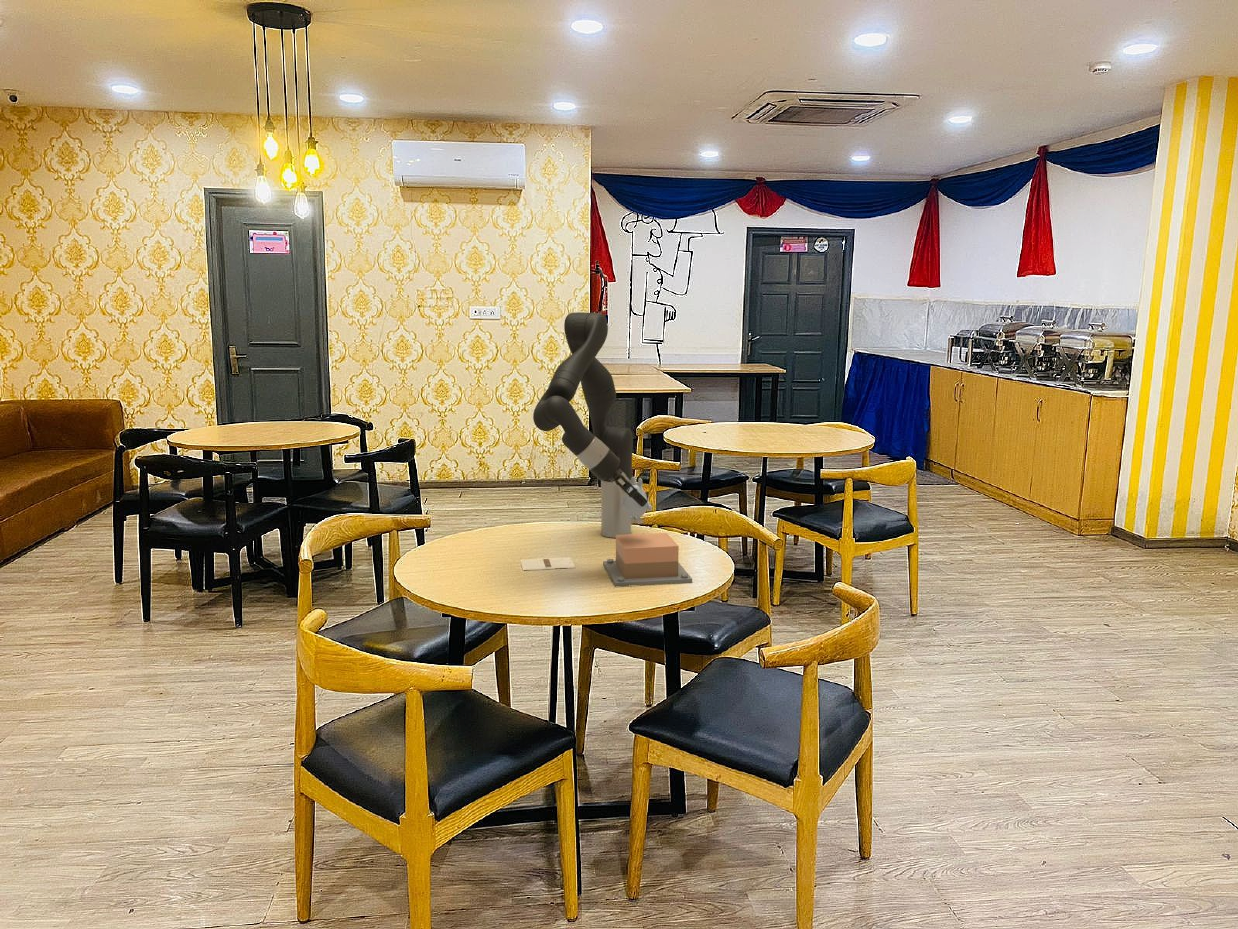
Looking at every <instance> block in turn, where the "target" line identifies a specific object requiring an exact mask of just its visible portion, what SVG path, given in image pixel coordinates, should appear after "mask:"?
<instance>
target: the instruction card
mask: <svg viewBox="0 0 1238 929" xmlns="http://www.w3.org/2000/svg"><path fill="white" fill-rule="evenodd" d="M520 564H521V568H522V571H523V572H525V571H524V570H531V571H543V570H542V569H551V570H556V569H555V568H571V569H576V566H575V564H574V561H573V559H572V557H571V556H567V557H566V556H565V557H564V556H563V557H551V558H549V557H547V558H528V559H526V558H525V559H520Z"/></svg>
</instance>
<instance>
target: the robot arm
mask: <svg viewBox="0 0 1238 929" xmlns="http://www.w3.org/2000/svg"><path fill="white" fill-rule="evenodd" d="M563 324H564V325H563V327H564V328H563V329H564V336H565V339H566V344H567V346H568V348H569V350H570V353H571V355H570V356H568V357H567V358H566V359H564V360H563V361H562V362H561V363H560V364H559V365H558V367H557V368H556V369H555V372H554V373H553V376H552V378H551V380H550V382H549V385H548V387H547V389H546V390H545V392H544V393H543V395H542V396H541V398H540V399H539V400H538V403H536V406H535V408H534V410H533V413H532V420H533V422H534V425H535V426H536V429H537V428H538V429H539V430H541V431H543V432H551V431H552V430H555V429H556V428H558V427H559V426H560V427H561V428H562V430H563V431H564V433H563V435H562V437H561V442H562V444H563V445H564V446H565V447H566V448H567V449H568V450H569V451H570V452H571V453H572V454H573V455H575V456H576V457H575V458H577V460H579V462H580V463H582V465H583V466H584V467H585V468H586V469H588V471H590V472H591V474H593V475H594V476H595V477H596V479H598V480H599V481H600V490H601V491H600V496H601V497H600V498H601V499H600V500H601V501H600V508H601V509H600V511H601V514H600V518H601V521H600V522H601V523H600V525H601V528H600V529H601V530H600V532H601V535H602V536H603V537H606V538H615V539H616V535H627V534H632V522H631V521H630V518H631V517H632V516H630V515H629V514H628V513H627V512H626V510H625V506H624V505H621V500H622V499H623V498H624V497H626V496H627V494H628V495H629V497H631V498H633V499H634V500H635V501H636V502H637V503H638V504H639V505H640V506H641V507H643V506H644V505H645V504H646V503H647V501H648V499H647V500H646V499H645V498H644V497H643V496H642V495H641V494H640V493H639V492H638V490H637V489H636V488H635V487H633V483H632V482H631V478H632V472H633V471H632V470H633V448H634V436H633V432H632V430H631V429H630V428H628V427H617V426H615V427H614V426H608V425H607V422H606V420H607V417H608V415H609V413H610V412H611V410H612V409H613V406H614V404H615V402H616V399H617V390H616V387H615V382H614V378H613V376H612V374H611V372H610V370H608V368H606V366H604V364H602V363H601V361H600V360H598V359H597V355H598V353H599V352H600V351H601V349H602V348H603V346H604V344H605V343H606V340H607V339H608V337H607V336H608V332H609V324H608V320H607V317H606V316H605V315H604V314H603V313H599V312H577V311H575V312H570V313H569V314H567V316H566V317H565V319H564V323H563ZM579 385H581V389H582V393H583V397H584V400H585V404H586V407H587V410H588V415H589V417H590V422H591V428H592V431H591V430H589V429H588V428H587V427H586V426H585V425H584V424H583V421H582V419H581V418H580V416H579V414H578V413H577V412H576V410H575V408H574V407H573V405H572V404H571V403H570V402H571V401H572V400H573V399H574V397H575V395H576V394H577V393H576V392H577V390H578V388H579ZM631 487H632V488H633V490H632V491H631V492H630V493H629V492H628V491H629V489H630V488H631Z"/></svg>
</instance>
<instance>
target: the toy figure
mask: <svg viewBox="0 0 1238 929" xmlns="http://www.w3.org/2000/svg"><path fill="white" fill-rule="evenodd" d="M631 482H632V483H633V487H635V488H636V489H637V490H638V492H639V493H640V494H641V495H642V496H643V497H644V498H645V499H646V500H647V503H646V504H645V505H644V506H643V507H641V506H640V505H639V504H638V503H637V502H636V501H635V500H634V499H633V498H631V497H629V495H628V494H627V496H626V497H624V498H623V499H622V500H621V505H624V506H625V510H626V512H627V513H628V514H629V515H630V516H631V518H630V521H631V523H637V524H643V523H644V519H642V518H641V517H643V515H645V514H646V512H647V510H648V511H649V512H652V511H653V506H652V504H651V503H650V502H649V500H648V497H647V494H646V491H645V490H644V488H643V479H642V478H641V477H639V478H638V479H637V484H636V477H635V476H631ZM632 490H633V488H632V487H631V488H630V489H629V491H628V492H629V493H630V492H631V491H632Z"/></svg>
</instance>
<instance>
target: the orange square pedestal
mask: <svg viewBox="0 0 1238 929" xmlns="http://www.w3.org/2000/svg"><path fill="white" fill-rule="evenodd" d="M679 548H680V547H679V545H678V544H677V542H676V541H674V539H673V538H672V537H671V535H669V534H668V533H667V532H654V533H631V534H627V535H616V538H615V559H613V558H607V559H606V560H604V561H602V565H603V568H604V569H605V571H606V573H607V572H608V573H607V575H608V576H609V579H610V580H611V582H612V583H613V585H615V586H614V587H615V588H617V587H616V586H621V587H632V586H631V585H640V586H656V585H655V584H659V585H666V584H665V583H669V584H668V585H675V583H677V584H693V578H692V577H691V575H690V574H689V573H688V572H687V570H685V568H684V566H682V564H680V562H679V554H680V553H679V551H680V550H679ZM670 583H672V584H670ZM629 585H630V586H629Z"/></svg>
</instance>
